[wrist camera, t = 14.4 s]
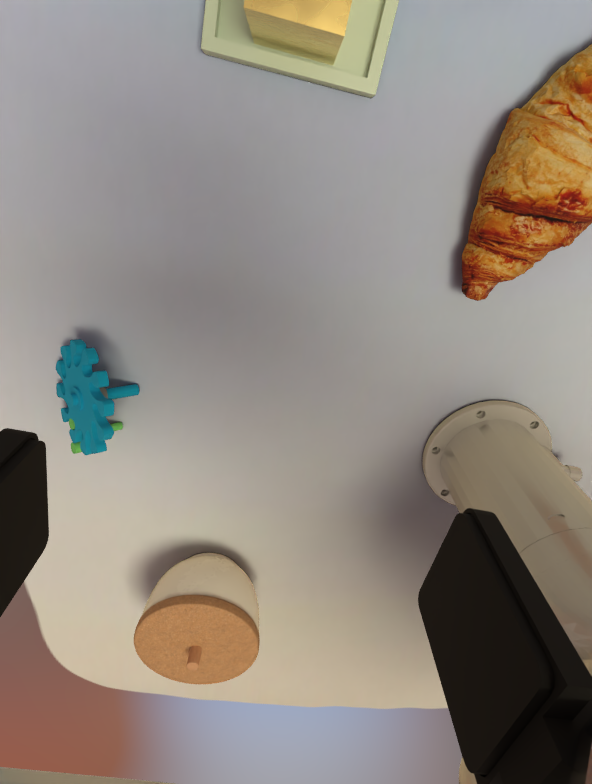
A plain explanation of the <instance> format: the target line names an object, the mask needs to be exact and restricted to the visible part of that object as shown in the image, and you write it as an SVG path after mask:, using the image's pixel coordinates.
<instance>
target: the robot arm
mask: <svg viewBox="0 0 592 784" xmlns="http://www.w3.org/2000/svg"><path fill="white" fill-rule="evenodd" d="M551 452H552V441H551V436H550V433H549V430H548V428H547V427H546V425H545V424H544V422H543V421H542V420H541V419H540V418H539V417H538V416H537V415H536V414H535V413H534V412H532V411H531V410H530V409H528V408H527V407H524V406H522V405H520V404H517V403H513V402H508V401H485V402H479V403H476V404H473V405H469V406H467V407H465V408H462V409H460V410H458V411H456V412H455V413H453V414H452V415H450V416H449V417H448V418H446V419H445V420H444V421H443V422H442V423H441V424H440V425H439V426H438V427H437V428H436V429H435V430H434V432H433V433H432V434H431V436H430V437H429V439H428V441H427V444H426V446H425V449H424V453H423V470H424V475H425V477H426V479H427V482H428V484H429V486H430V487H431V489H432V490H433V491H434V493H435V494H436V495H437V496H439V497H440V498H441V499H443V500H444V501H446V502H448V503H450V504H453V505H455V506H457V508H458V510H459V512H460V513H459V514H457V515H456V517H455V519H454V521H453V523H452V525H451V527H450V529H449V531H448V533H447V535H446V537H445V539H444V541H443V543H442V546H441V548H440V550H439V552H438V554H437V556H436V558H435V560H434V562H433V564H432V566H431V568H430V570H429V572H428V574H427V576H426V578H425V581H424V583H423V585H422V587H421V589H420V591H419V596H418V603H419V608H420V612H421V615H422V619H423V622H424V626H425V629H426V633H427V636H428V639H429V643H430V646H431V650H432V653H433V657H434V660H435V663H436V667H437V670H438V674H439V677H440V681H441V684H442V688H443V691H444V694H445V698H446V701H447V705H448V708H449V711H450V715H451V718H452V722H453V725H454V728H455V732H456V736H457V739H458V743H459V746H460V749H461V753H462V756H463V757H462V760H461V764H460V769H459V784H592V501H591V499H590V498H589V497H588V496H587V495H586V494H585V493H584V492H583V491H582V490H581V488H580V487H579V486H578V485H577V484H576V483H575V482H574V481H579V480H580V479H581V478H582V470H581V469H580V468H578V467H573V466H568V465H565V466H564V465H562V463H561V462H560V461H559V460H558V459H557V458H556V457H555V456H554V455H553V454H552V453H551ZM48 536H49V527H48V498H47V468H46V446H45V443H44V442H43V441H39V440H38V436H37V434H35V433H32V432H26V431H20V430H15V429H9V428H7V429H3V430H2V431H0V617H1V615H2V614H3V612H4V611H5V609H6V608H7V606H8V604H9V603H10V602H11V600H12V598H13V597H14V595H15V594H16V592H17V590H18V589H19V588H20V586H21V585H22V583H23V582H24V580H25V579H26V577H27V576H28V574H29V572H30V571H31V569H32V568H33V566H34V565H35V563H36V562H37V560H38V559H39V557H40V556H41V554H42V553H43V551H44V549H45V547H46V544H47V541H48ZM0 784H174V783H163V782H153V781H143V780H132V779H122V778H110V777H100V776H89V775H78V774H67V773H57V772H47V771H36V770H25V769H14V768H3V767H0Z"/></svg>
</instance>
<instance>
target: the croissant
mask: <svg viewBox="0 0 592 784" xmlns="http://www.w3.org/2000/svg"><path fill="white" fill-rule="evenodd" d="M591 223H592V44H591V45H590V46H589V47H588V48H586V49H585V50H583V51H581V52H579V53H577V54H576V55H574V56H573V57H572V58H571V59H570V60H569V61H568V62H567V63H566V64H565V65H563V66H561V67H560V68H559V69H558V70H557V71H556V72H555V73H554V74H553V75H552V76H551V77H550V79H549V80H548V81H547V82H546V83H545V84H544V85H543V87H542V88H541V89H540V90H539V91H538V92H536V93H535V94H534V96H533V97H532V98H531V99H530V100H529V101H528V103H527V104H525V105H524V106H523V107H522V108H521V109H520V108H515V109H514V110H513V111H511V113H510V115H509V118H508V121H507V123H506V126H505V129H504V130H503V132H502V134H501V137H500V140H499V143H498V145H497V148H496V153H495V154H493V156H492V157H491V159H490V161H489V163H488V165H487V168H486V171H485V175H484V177H483V180H482V183H481V187H480V190H479V197H478V202H477V205H476V207H475V210H474V212H473V218H472V222H471V225H470V230H469V235H468V243H467V244H466V245H465V248H464V251H463V254H462V279H463V282H462V292H463V293H464V294H465V295H466V297H468V298H470V299H474V300H477V301H478V300H482V299H485V298H487V296H488V294H489V292H490V291H491V290H492V289H493V288H494V287H495V285H496V284H497V283H498V282H503V281H508V280H513V279H514V278H516V277H517V276H519V275H521V274H524V273H525V272H526V271H527V270H528V269H530V268H532V267H533V265H534V263H535V262H538V261H541V259H542V258H543V257H544V256H545V255H546V254H547V253H548V252H549V251H552V250H555V249H557V248H560V247H562V246H563V247H565V246H567V245H568V246H569V245H570V244H572V242H573V241H574V239H575V238H576V237H577V236H578V235H579V234H580V233H581V232H582V231H584V230H585V229H586V228H587V227H588V226H589V225H590V224H591Z"/></svg>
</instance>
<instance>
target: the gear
mask: <svg viewBox="0 0 592 784" xmlns="http://www.w3.org/2000/svg"><path fill="white" fill-rule="evenodd" d="M61 354H62V357H63V360H59V361H58V362H57V364H56V370H57V373H58V374H59V375H60V377H61V378H62V381H63V383H57V395H58V397H61V398H63V399H64V400H65V402H66V403H67V405H68V407H67V408H62V409H61V413H62V418H63V421H64V422H68V421H69V425H70V428H71V429H70V432H69V433H70V436H71V439H72V441H73V442H72V443H71V449H72V452H73V453H74V454H75V453H79V452H83V453H84V454H85V455H89V454H93V453H94V454H95V453H99V452H103V451H107V447H106V443H105V441H104V440H108V439H111V438H112V436H113V434H114V431H116V430H120V429H122V428H123V426H122V423H121V422H118V423H113V424H109V422H108V421H107V419H106V416H111V415H113V414H114V402H113V400H112V399H117V398H122V397H128V396H134V395H138V394H139V387H138V385H137V384H134V385H127V386H121V387H114V388H107V389H106V388H105V387H108V386H109V379H108V375H107V371H105V370H104V371H96V372H93V371H92V364H97V363H98V361H99V357H98V354H97V352H96V350H95V349H94V348H86V343H85V342H84V341H83V340H81V339H79V340H70V345H67V346H62V347H61Z"/></svg>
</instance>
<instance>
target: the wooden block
mask: <svg viewBox="0 0 592 784" xmlns="http://www.w3.org/2000/svg"><path fill="white" fill-rule="evenodd" d="M351 4H352V0H244V11H245V14H246V17H247V21H248V24H249V27H250V31H251V34H252V38H253V41H254V44H257V45H261V46H264V47H268V48H272V49H275V50H279V51H282V52H286V53H289V54H293V55H297V56H300V57H304V58H307V59H311V60H315V61H318V62H322V63H325V64H329V65H333V64H334V62H335V59H336V57H337V54H338V52H339V49H340V46H341V44H342V41H343V39H344V36H345V31H346V27H347V22H348V18H349V13H350V8H351Z"/></svg>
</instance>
